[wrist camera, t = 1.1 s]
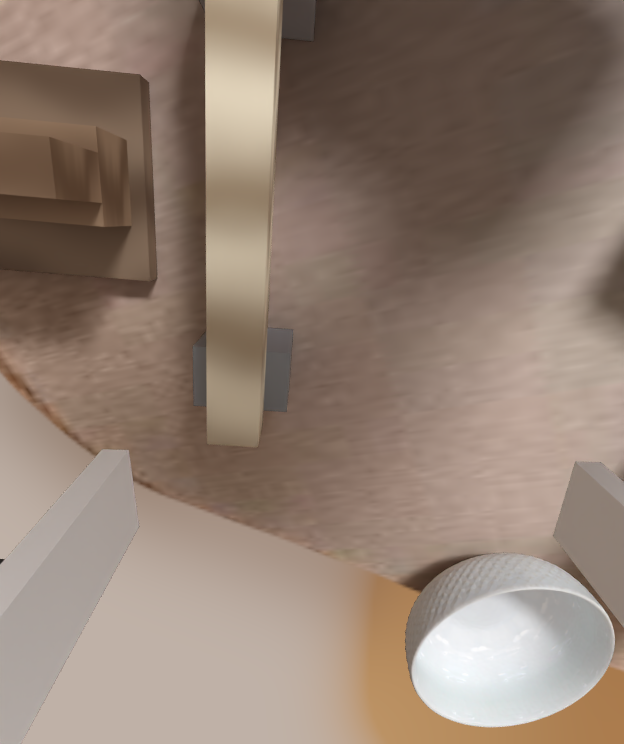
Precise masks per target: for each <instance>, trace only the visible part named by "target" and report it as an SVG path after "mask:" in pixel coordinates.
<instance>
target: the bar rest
mask: <svg viewBox="0 0 624 744" xmlns="http://www.w3.org/2000/svg"><path fill="white" fill-rule="evenodd" d="M199 1H200V3H201V5H202V7H203V9H204V11H205V0H199ZM315 10H316V0H283V12H282V33H281V38H287V39H296V40H306V41H313V39H314V25H315ZM292 342H293V330H292V329H279V328H267V349H266V370H265V391H264V411H279V412H287V403H288V393H289V383H290V370H291V356H292ZM193 395H194V406H206V407H207V380H206V332H205V333H204V334H203V335H202V336H201V338H200V339H199V340H198V341H197V342H196V343H195V344H194V345H193Z"/></svg>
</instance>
